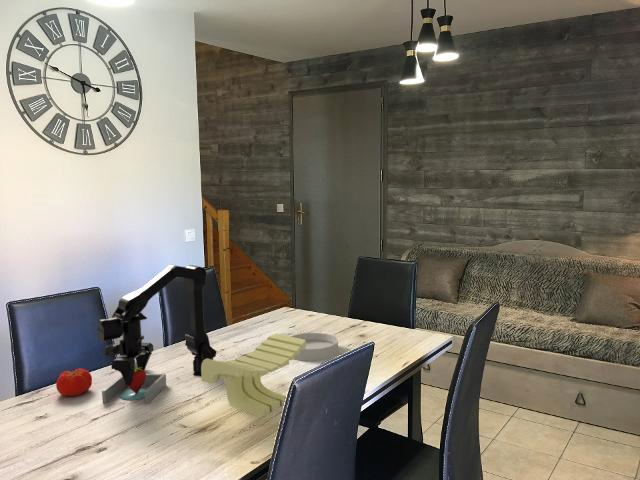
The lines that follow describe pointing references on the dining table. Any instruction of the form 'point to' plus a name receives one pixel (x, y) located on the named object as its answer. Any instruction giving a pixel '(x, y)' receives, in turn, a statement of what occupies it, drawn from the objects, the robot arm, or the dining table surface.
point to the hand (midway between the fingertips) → (135, 380)
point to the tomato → (74, 382)
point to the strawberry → (137, 379)
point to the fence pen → (152, 380)
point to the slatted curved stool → (254, 374)
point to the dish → (317, 347)
